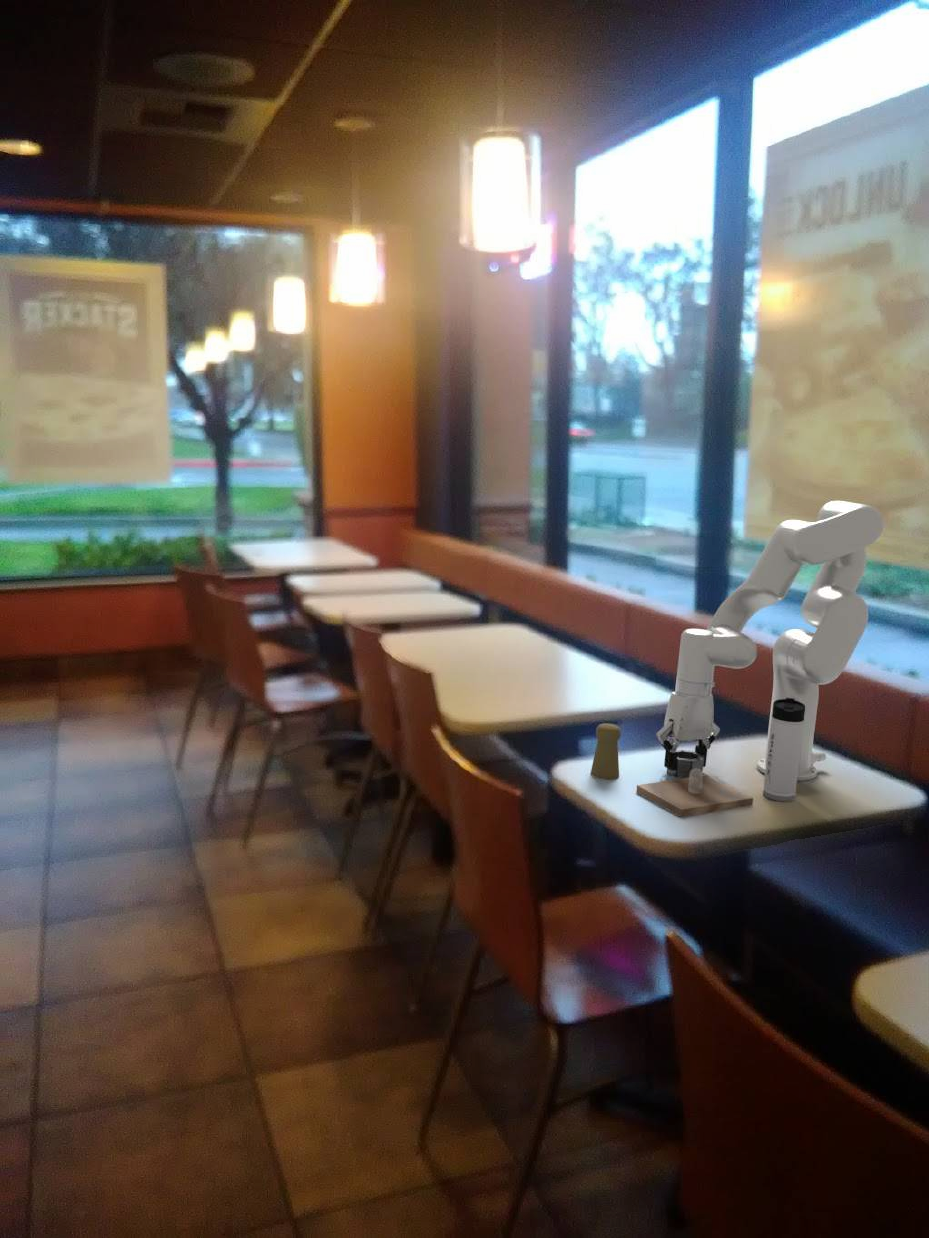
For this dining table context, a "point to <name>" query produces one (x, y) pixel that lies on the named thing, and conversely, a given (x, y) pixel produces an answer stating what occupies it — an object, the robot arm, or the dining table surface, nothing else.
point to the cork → (606, 752)
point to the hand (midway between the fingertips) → (684, 766)
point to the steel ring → (687, 763)
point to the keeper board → (694, 795)
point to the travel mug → (784, 750)
